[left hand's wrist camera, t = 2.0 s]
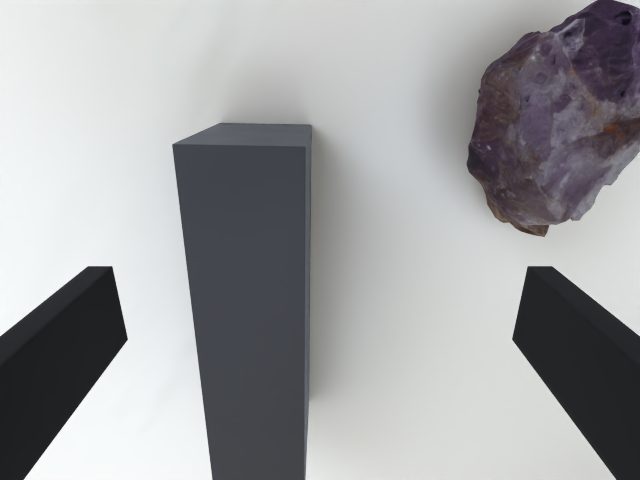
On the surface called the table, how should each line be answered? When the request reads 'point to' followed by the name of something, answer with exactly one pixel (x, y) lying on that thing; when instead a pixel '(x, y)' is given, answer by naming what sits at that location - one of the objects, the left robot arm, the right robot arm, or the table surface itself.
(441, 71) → the table surface
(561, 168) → the rock
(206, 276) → the box
